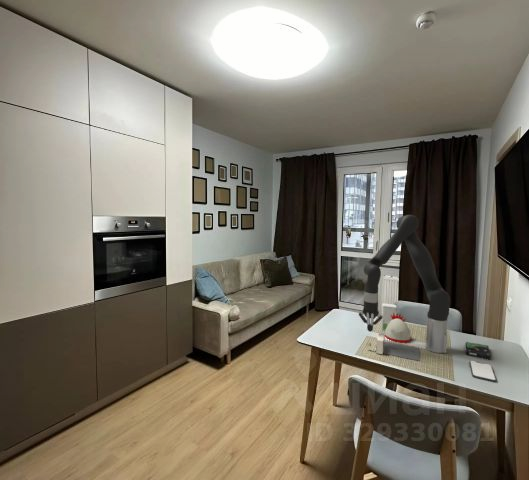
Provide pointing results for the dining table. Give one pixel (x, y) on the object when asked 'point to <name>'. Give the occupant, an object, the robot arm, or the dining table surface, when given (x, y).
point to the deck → (380, 343)
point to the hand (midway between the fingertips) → (369, 330)
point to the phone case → (482, 371)
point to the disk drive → (478, 350)
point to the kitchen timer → (397, 330)
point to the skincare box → (387, 314)
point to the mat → (401, 351)
